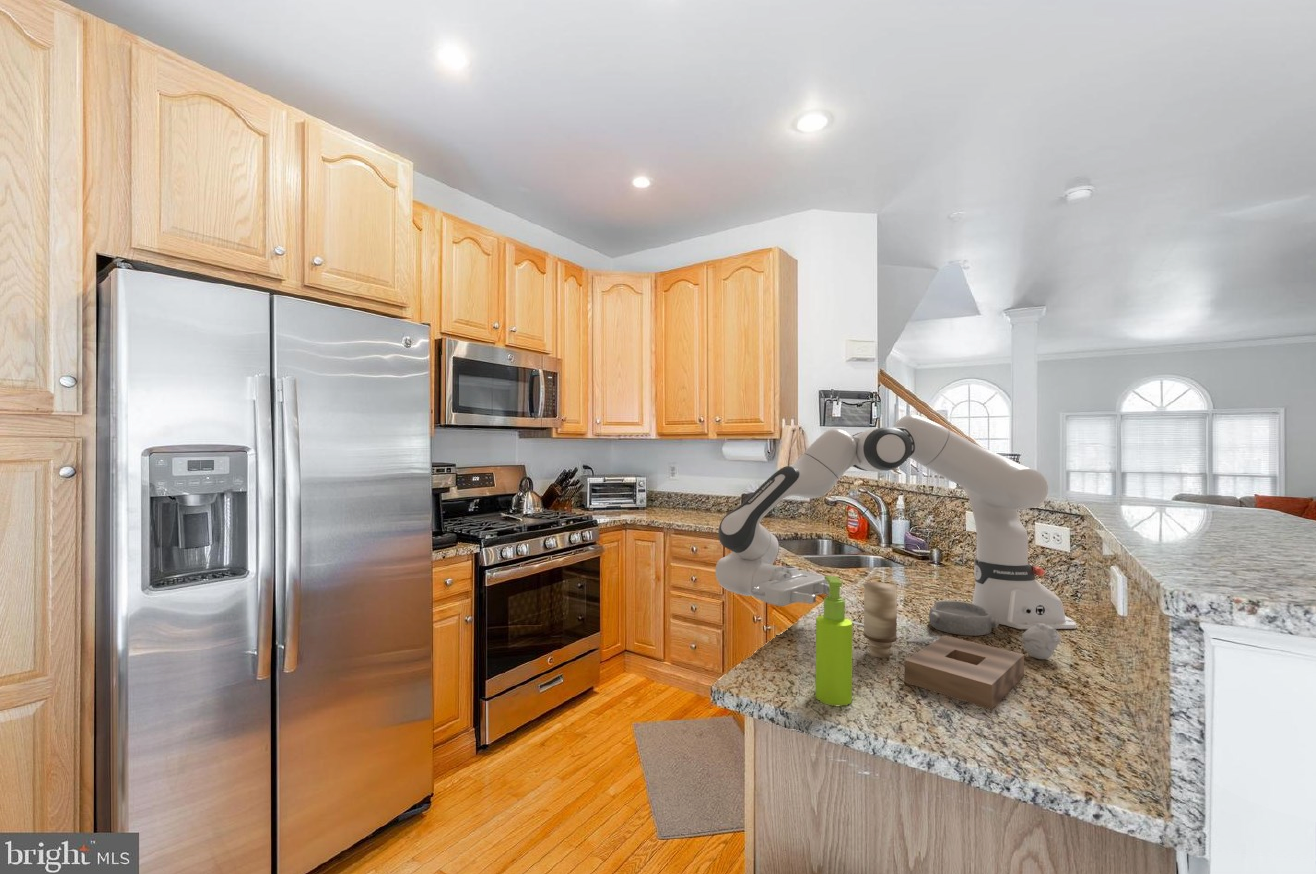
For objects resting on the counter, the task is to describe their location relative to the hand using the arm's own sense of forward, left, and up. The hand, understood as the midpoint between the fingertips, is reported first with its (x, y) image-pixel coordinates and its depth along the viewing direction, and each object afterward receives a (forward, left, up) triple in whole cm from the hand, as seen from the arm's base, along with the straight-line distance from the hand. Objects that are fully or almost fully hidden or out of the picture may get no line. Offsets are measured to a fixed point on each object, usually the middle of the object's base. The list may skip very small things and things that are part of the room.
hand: (825, 596), depth 122 cm
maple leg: (-10, +8, -9) cm, 16 cm away
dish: (-34, -13, -10) cm, 38 cm away
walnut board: (-22, +18, -9) cm, 30 cm away
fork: (-14, -8, -10) cm, 19 cm away
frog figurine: (-42, +5, -10) cm, 43 cm away
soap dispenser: (+4, +29, -10) cm, 31 cm away
